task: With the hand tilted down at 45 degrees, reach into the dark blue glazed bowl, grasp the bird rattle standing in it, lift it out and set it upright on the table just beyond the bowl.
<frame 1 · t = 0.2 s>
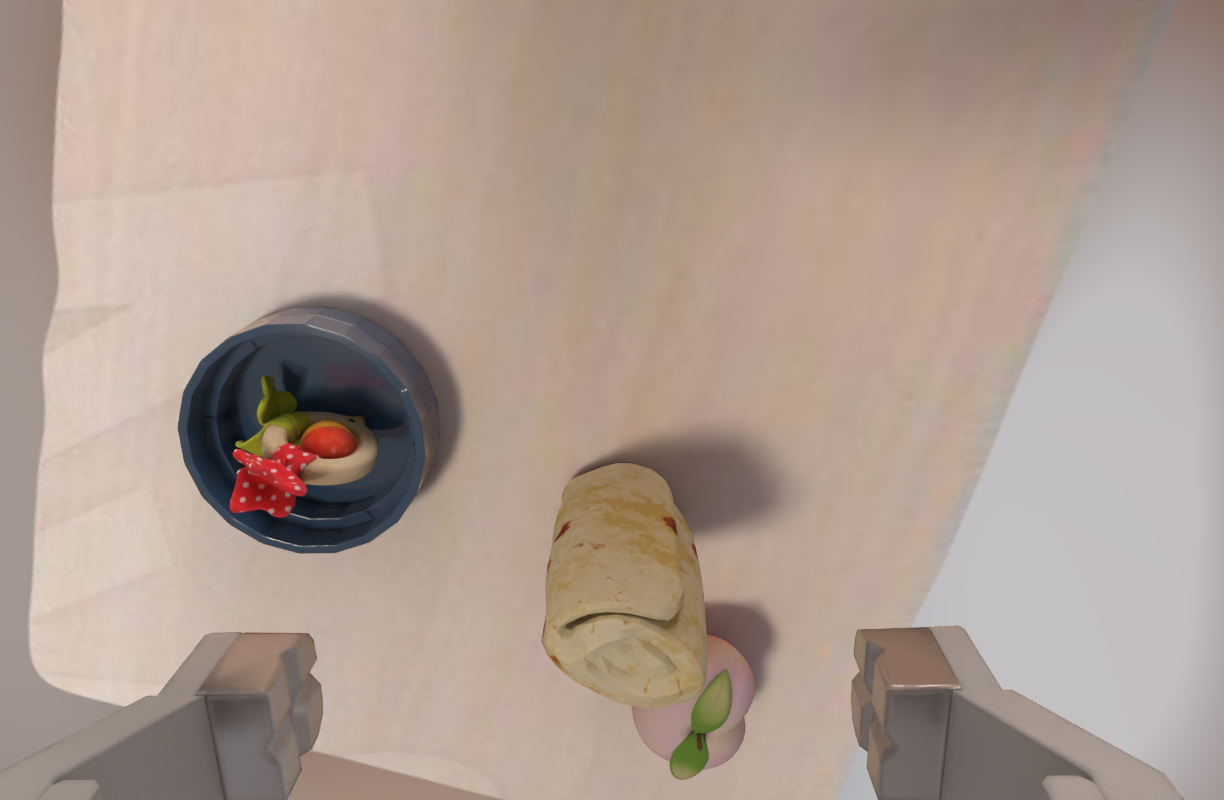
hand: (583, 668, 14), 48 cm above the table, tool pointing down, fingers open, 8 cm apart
decorative fruit: (686, 656, 70), on the table
bowl: (326, 417, 64), on the table
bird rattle: (325, 418, 64), resting on bowl
food model: (629, 498, 66), on the table
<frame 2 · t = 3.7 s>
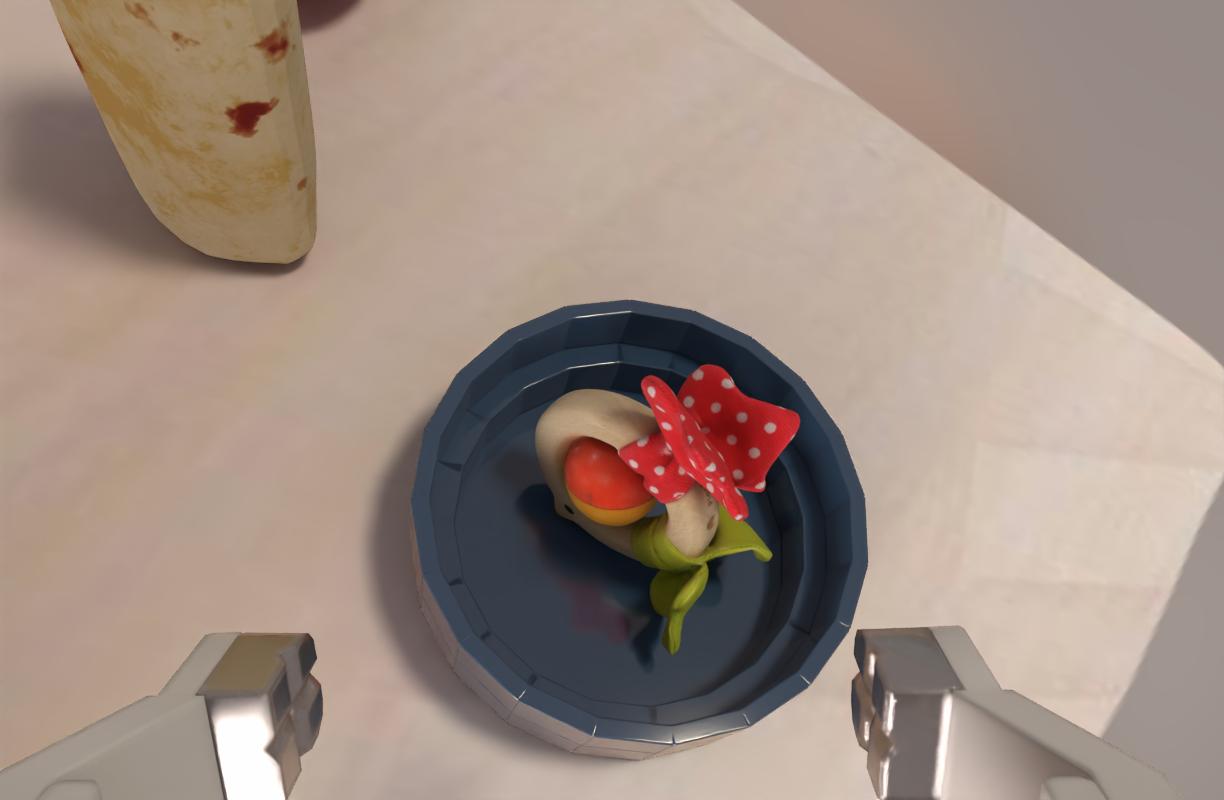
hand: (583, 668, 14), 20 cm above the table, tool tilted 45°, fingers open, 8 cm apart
bowl: (620, 542, 36), on the table
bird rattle: (621, 541, 36), resting on bowl
food model: (233, 204, 39), on the table
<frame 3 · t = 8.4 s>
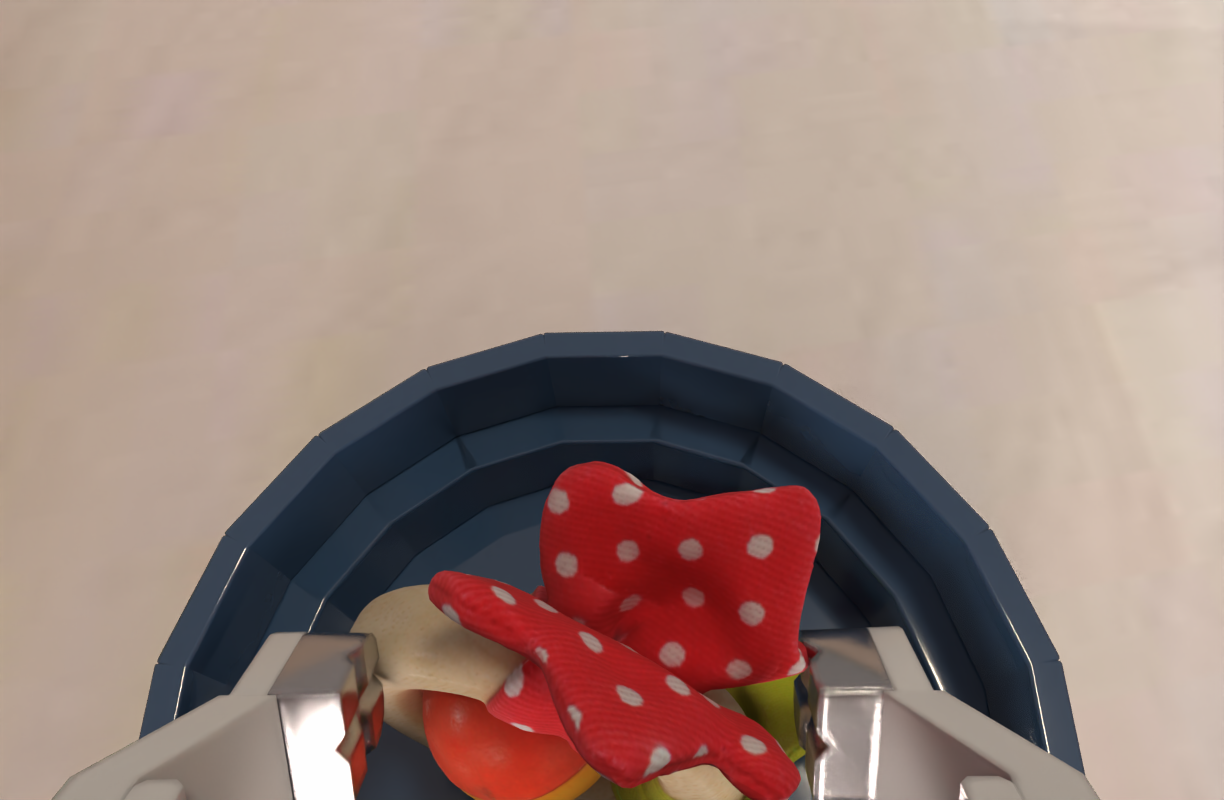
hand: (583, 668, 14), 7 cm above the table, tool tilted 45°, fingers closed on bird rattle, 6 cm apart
bowl: (611, 765, 20), on the table
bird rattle: (612, 763, 20), resting on bowl, touching gripper
when the fingers open (7 cm above the table, at t = 16.9 s): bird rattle stays where it is, on the table.
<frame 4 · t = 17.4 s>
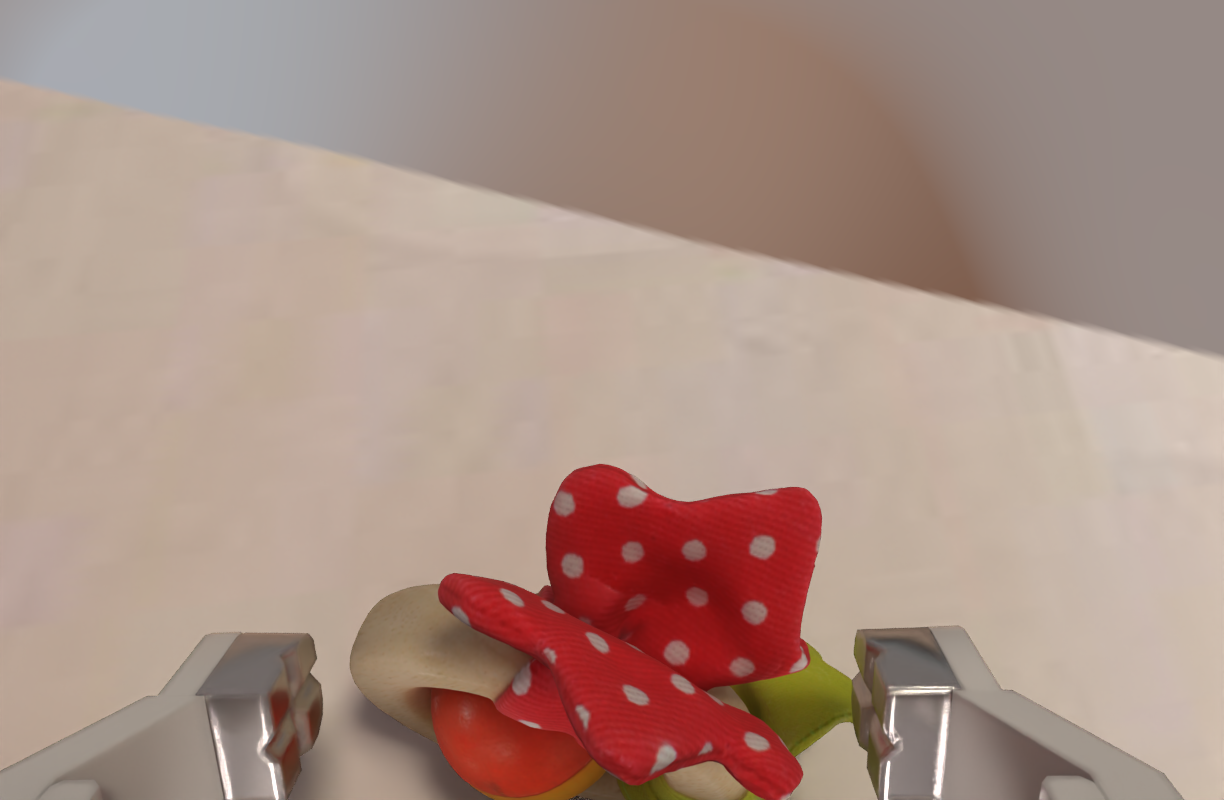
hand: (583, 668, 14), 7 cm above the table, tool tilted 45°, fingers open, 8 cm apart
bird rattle: (617, 756, 20), on the table
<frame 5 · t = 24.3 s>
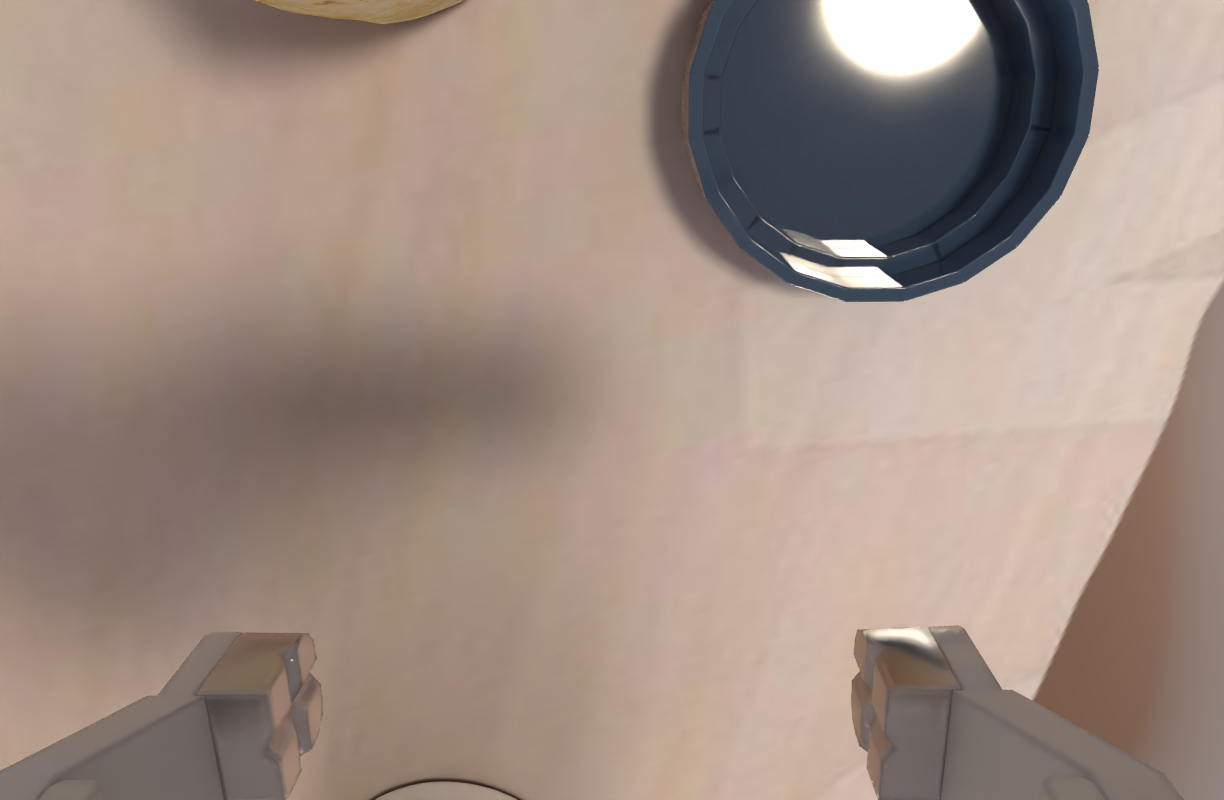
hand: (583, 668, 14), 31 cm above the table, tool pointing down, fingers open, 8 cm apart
bowl: (860, 101, 41), on the table
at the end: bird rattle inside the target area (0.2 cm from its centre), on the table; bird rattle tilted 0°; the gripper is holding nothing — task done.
